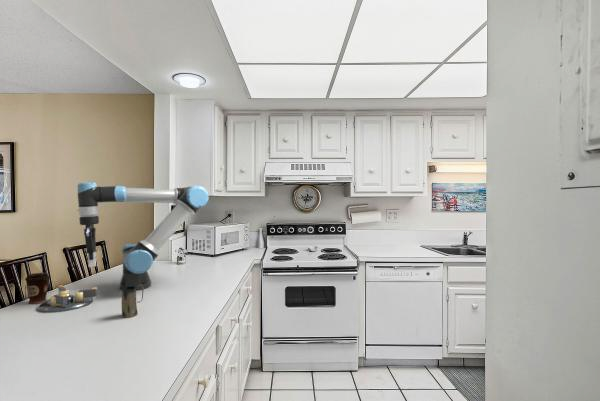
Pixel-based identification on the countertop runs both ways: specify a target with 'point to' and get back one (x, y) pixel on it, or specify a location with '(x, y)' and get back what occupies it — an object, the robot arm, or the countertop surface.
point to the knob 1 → (62, 290)
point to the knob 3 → (85, 294)
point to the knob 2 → (58, 300)
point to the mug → (129, 301)
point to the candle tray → (69, 306)
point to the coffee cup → (37, 287)
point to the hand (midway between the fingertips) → (92, 266)
